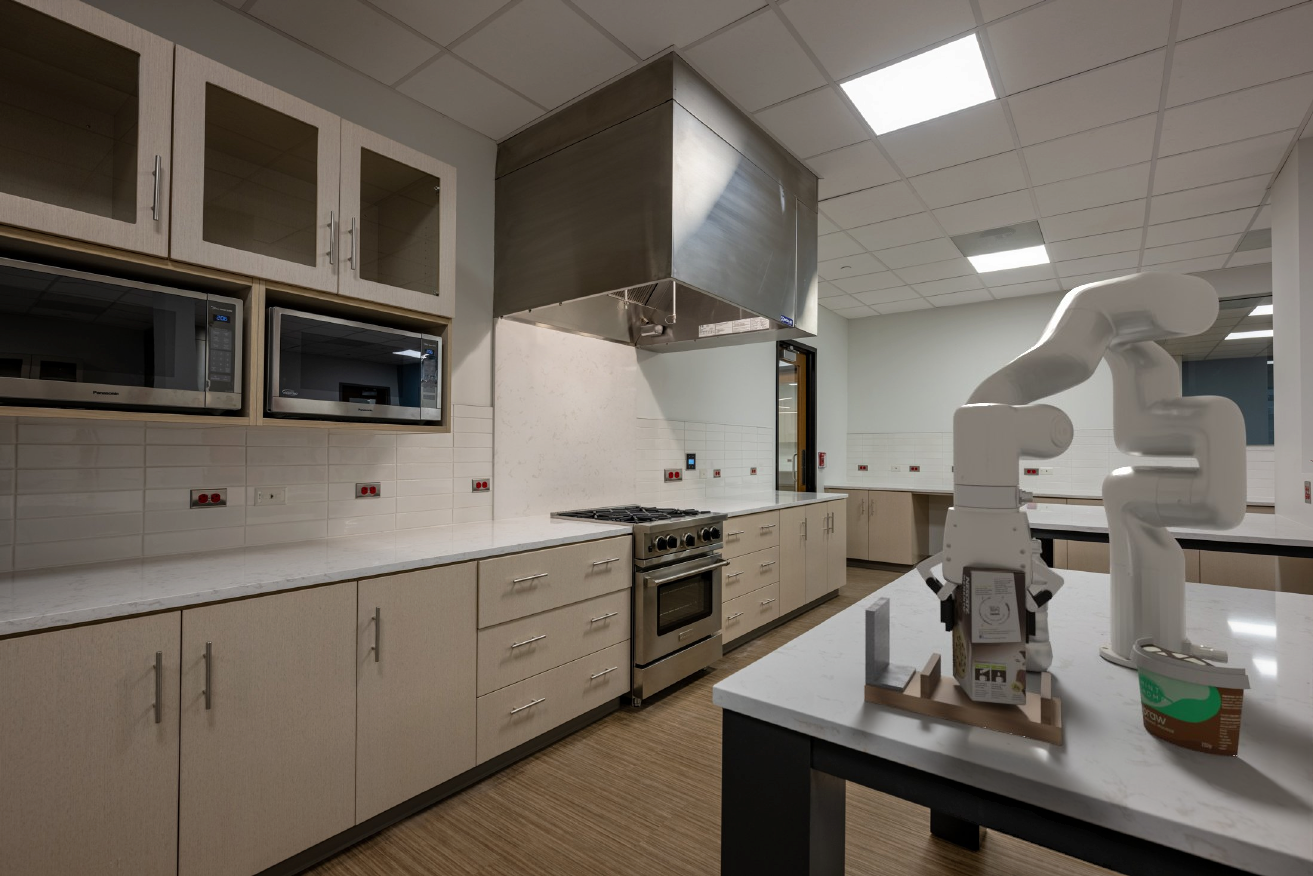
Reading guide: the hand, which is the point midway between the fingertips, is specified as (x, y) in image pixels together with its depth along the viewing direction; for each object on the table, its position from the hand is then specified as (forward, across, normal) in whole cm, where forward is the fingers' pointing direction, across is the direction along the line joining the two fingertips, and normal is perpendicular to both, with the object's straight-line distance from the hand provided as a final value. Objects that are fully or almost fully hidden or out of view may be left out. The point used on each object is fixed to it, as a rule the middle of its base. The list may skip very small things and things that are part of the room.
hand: (986, 634), depth 78 cm
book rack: (+10, +3, 0) cm, 10 cm away
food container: (+10, -19, -5) cm, 22 cm away
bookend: (+8, +12, 0) cm, 14 cm away
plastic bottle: (+10, -4, -22) cm, 24 cm away
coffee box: (+7, 0, 0) cm, 7 cm away
